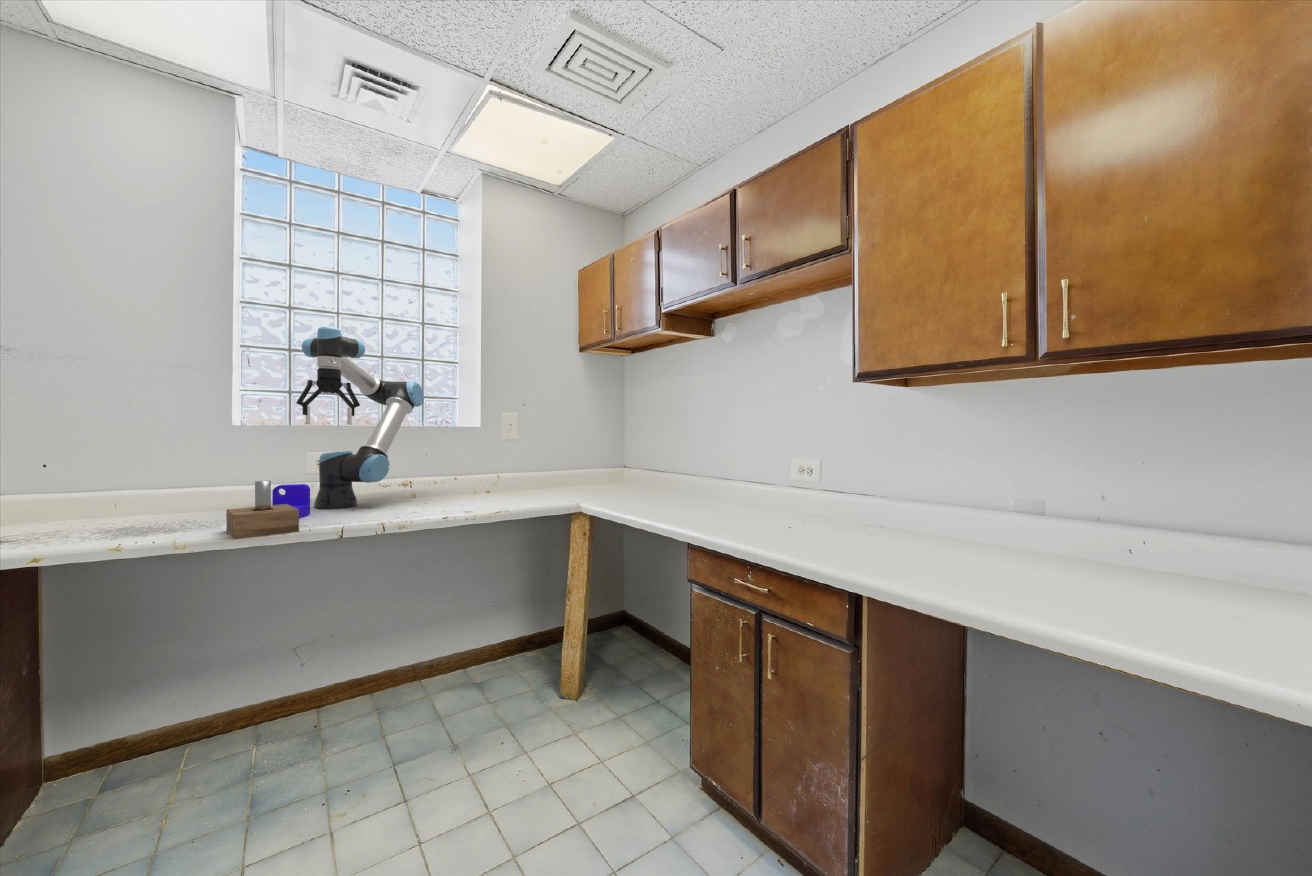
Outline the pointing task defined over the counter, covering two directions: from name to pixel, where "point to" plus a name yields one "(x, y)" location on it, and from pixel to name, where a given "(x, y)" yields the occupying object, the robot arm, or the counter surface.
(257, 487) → the pin
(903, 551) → the counter surface
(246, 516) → the bore block
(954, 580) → the counter surface
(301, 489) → the bracket
